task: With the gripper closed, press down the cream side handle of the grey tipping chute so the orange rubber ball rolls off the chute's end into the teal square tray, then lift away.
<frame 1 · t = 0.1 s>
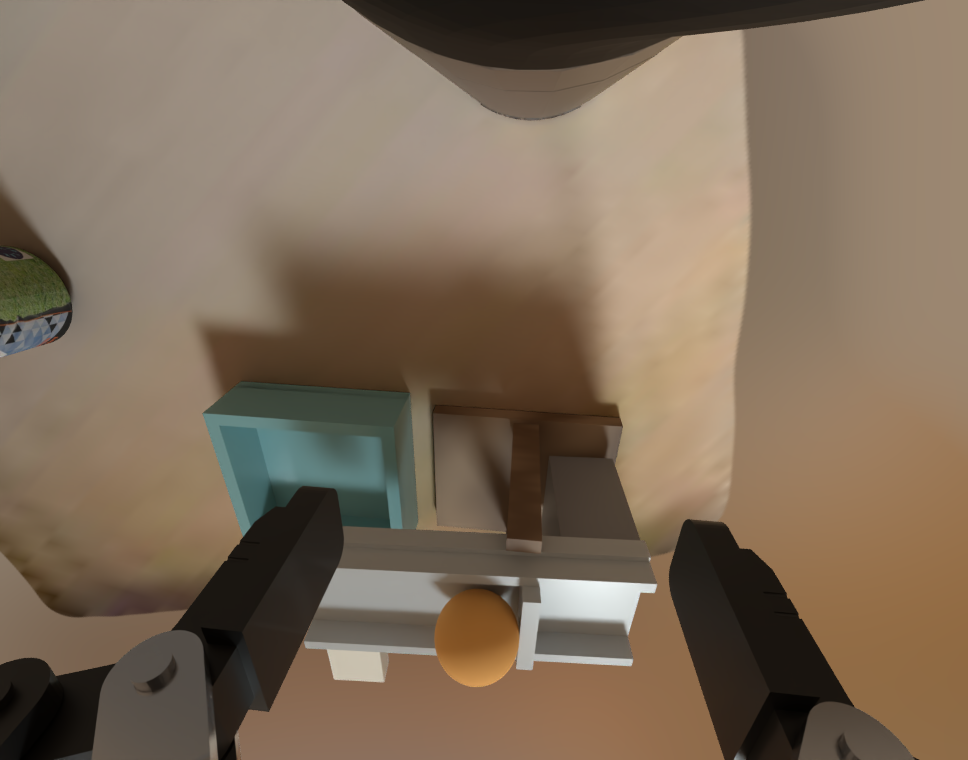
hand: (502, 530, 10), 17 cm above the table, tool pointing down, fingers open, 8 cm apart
stand: (521, 471, 31), on the table
beverage can: (42, 281, 28), on the table
chute: (472, 575, 26), point 7 cm above the table, hinge at -3.0°, touching ball
teal square tray: (336, 456, 32), on the table
ball: (476, 635, 21), point 12 cm above the table, tilted 12°, touching chute
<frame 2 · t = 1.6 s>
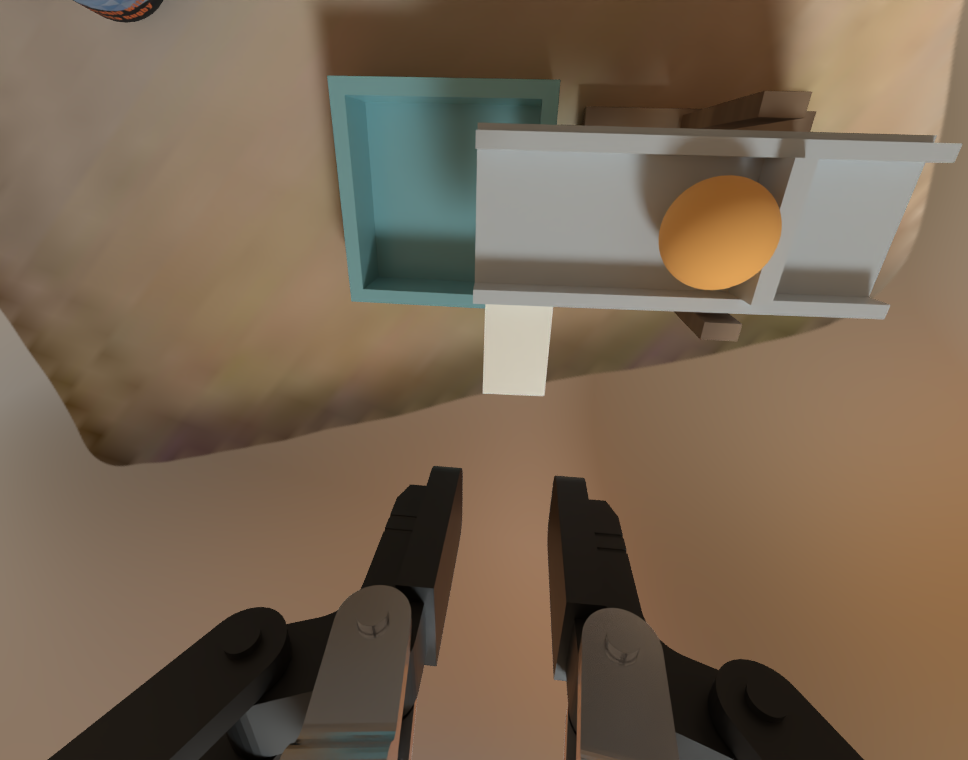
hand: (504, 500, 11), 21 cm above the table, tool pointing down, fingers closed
stand: (674, 206, 27), on the table
chute: (650, 266, 22), point 7 cm above the table, hinge at -3.0°, touching ball
teal square tray: (454, 198, 28), on the table
ball: (716, 234, 16), point 12 cm above the table, tilted 12°, touching chute
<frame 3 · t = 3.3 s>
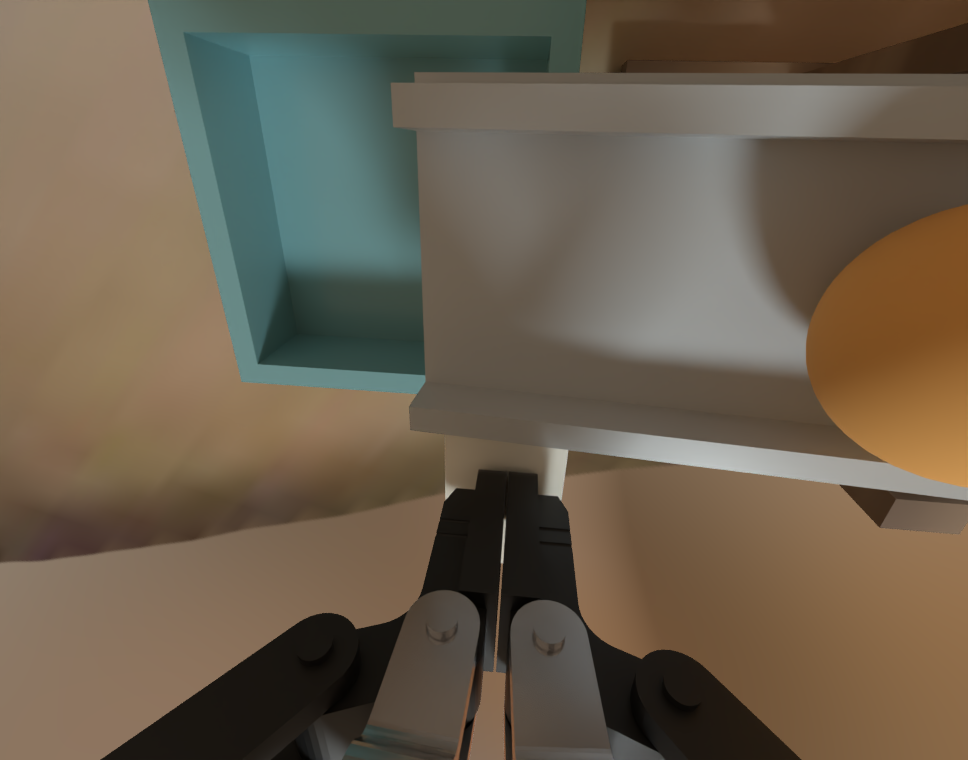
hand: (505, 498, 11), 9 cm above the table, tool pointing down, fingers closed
stand: (762, 230, 17), on the table
chute: (767, 353, 12), point 7 cm above the table, hinge at 5.0°, touching ball, gripper
teal square tray: (408, 215, 18), on the table
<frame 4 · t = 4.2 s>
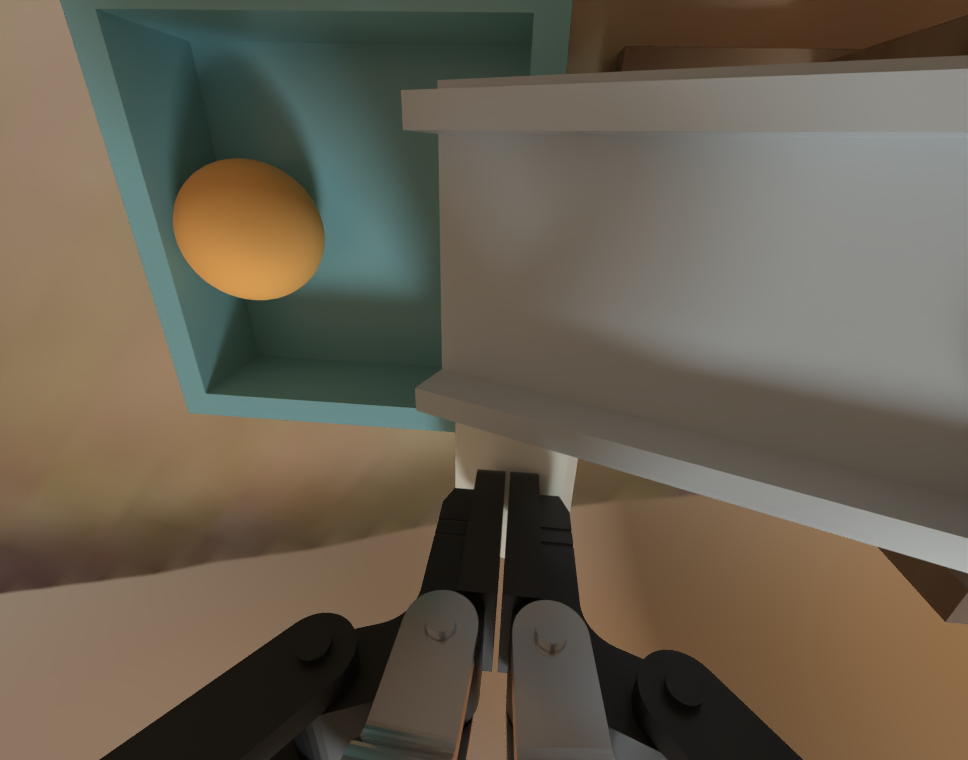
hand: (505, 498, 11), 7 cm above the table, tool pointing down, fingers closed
stand: (777, 240, 15), on the table
chute: (827, 384, 10), point 6 cm above the table, hinge at 21.3°, touching gripper
teal square tray: (378, 224, 16), on the table
ball: (254, 232, 13), point 3 cm above the table, tilted 90°, touching teal square tray
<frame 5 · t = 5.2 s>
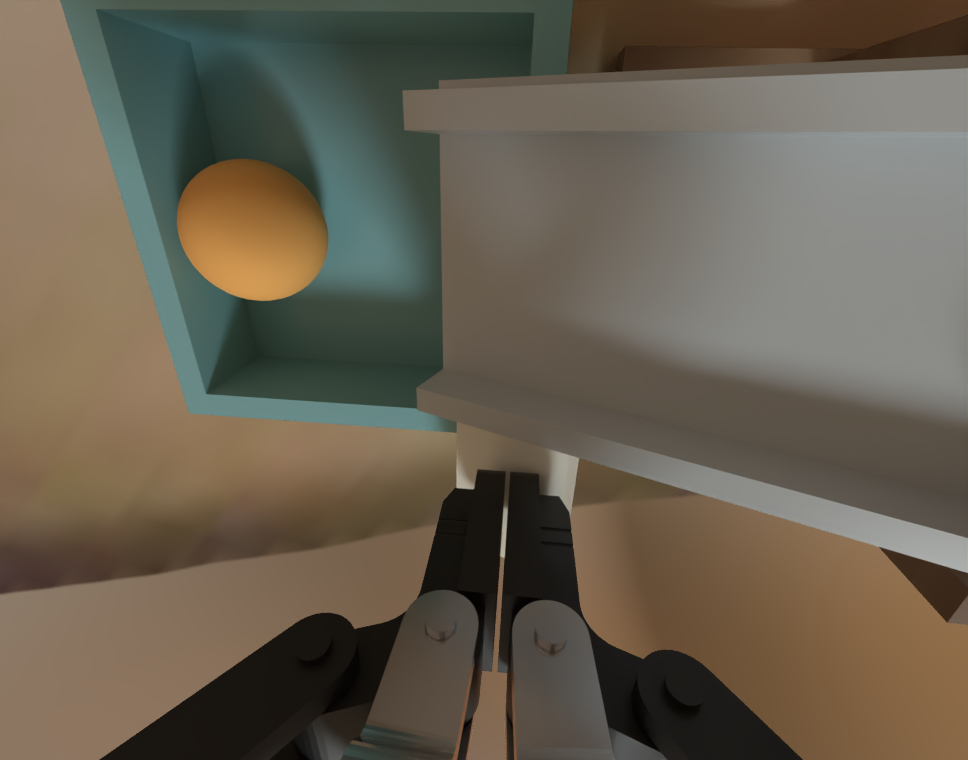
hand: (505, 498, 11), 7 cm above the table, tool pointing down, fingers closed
stand: (778, 240, 15), on the table
chute: (829, 384, 10), point 6 cm above the table, hinge at 21.5°, touching gripper
teal square tray: (379, 224, 16), on the table
ball: (257, 233, 13), point 3 cm above the table, tilted 87°, touching teal square tray
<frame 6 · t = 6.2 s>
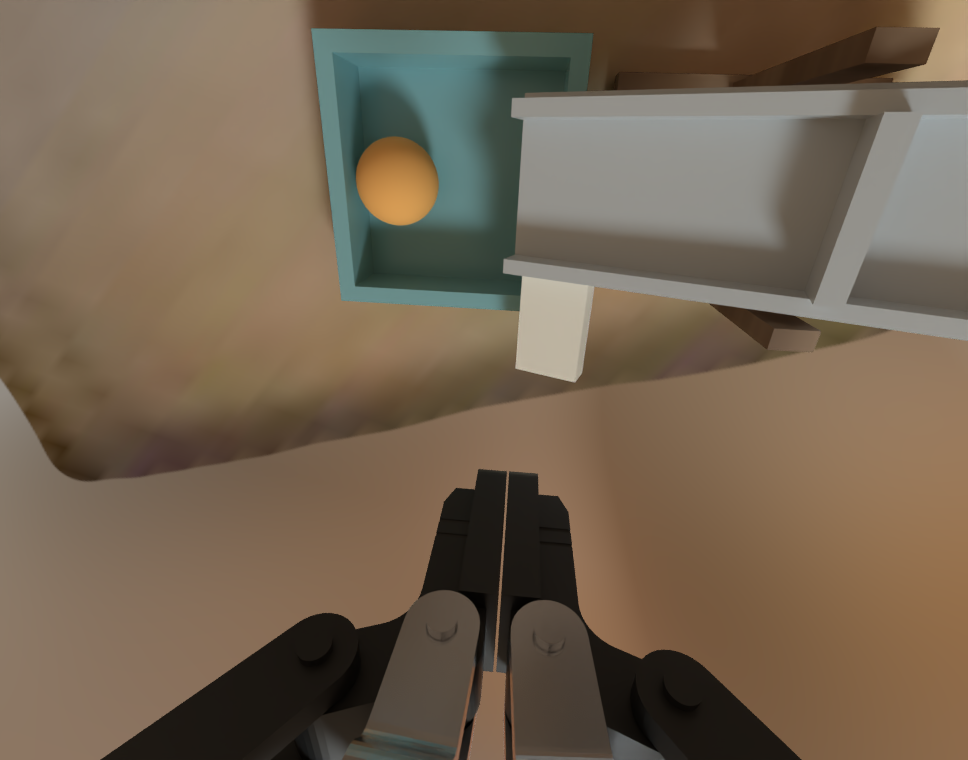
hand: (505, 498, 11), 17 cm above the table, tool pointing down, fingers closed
stand: (716, 192, 23), on the table
chute: (728, 258, 19), point 6 cm above the table, hinge at 21.5°
teal square tray: (461, 182, 24), on the table
ball: (398, 182, 22), point 3 cm above the table, tilted 84°, touching teal square tray
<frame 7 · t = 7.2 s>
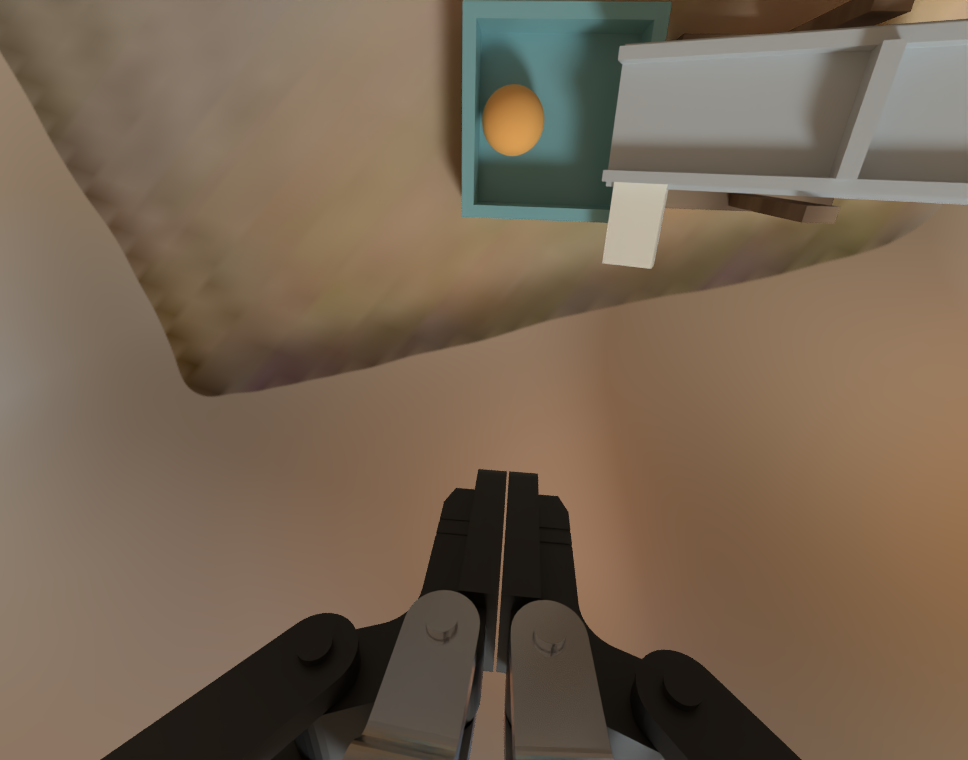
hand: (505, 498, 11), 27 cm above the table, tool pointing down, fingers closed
stand: (753, 130, 30), on the table
chute: (769, 168, 25), point 6 cm above the table, hinge at 21.5°
teal square tray: (552, 125, 31), on the table
ball: (513, 121, 29), point 3 cm above the table, tilted 81°, touching teal square tray
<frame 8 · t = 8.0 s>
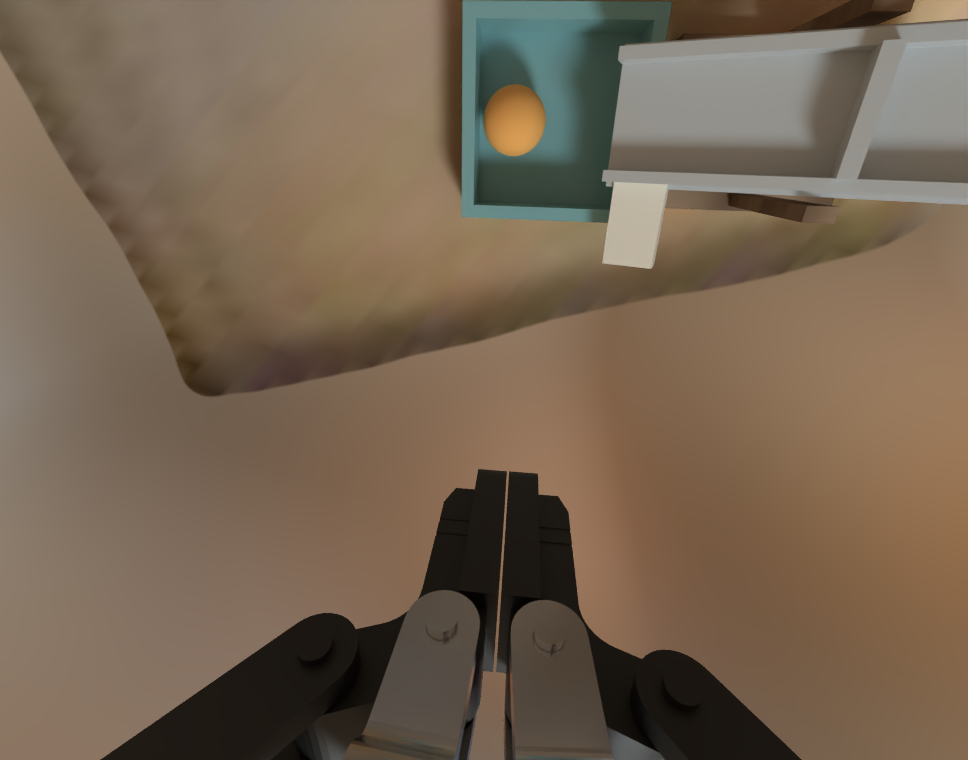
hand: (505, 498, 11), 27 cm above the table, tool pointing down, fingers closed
stand: (753, 130, 30), on the table
chute: (769, 168, 25), point 6 cm above the table, hinge at 21.5°
teal square tray: (552, 125, 31), on the table
ball: (514, 121, 29), point 3 cm above the table, tilted 79°, touching teal square tray
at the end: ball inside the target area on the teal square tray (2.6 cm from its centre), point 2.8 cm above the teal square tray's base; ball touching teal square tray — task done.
